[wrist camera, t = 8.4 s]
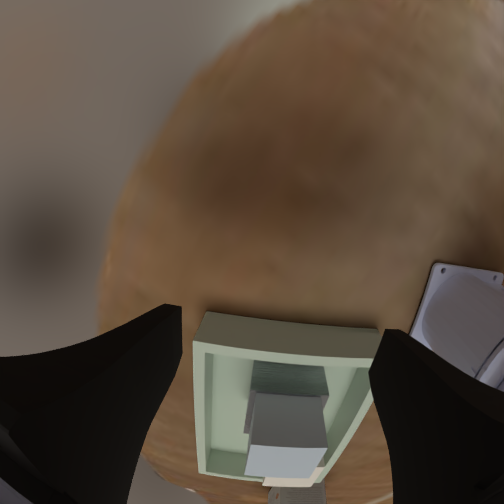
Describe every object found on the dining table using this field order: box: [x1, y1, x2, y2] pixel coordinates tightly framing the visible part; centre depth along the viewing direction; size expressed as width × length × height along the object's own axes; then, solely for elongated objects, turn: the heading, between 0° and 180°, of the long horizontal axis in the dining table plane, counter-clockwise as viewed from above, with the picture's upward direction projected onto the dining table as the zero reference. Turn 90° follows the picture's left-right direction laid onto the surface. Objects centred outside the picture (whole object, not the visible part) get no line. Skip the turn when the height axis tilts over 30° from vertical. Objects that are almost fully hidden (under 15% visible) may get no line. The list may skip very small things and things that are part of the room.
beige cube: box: [262, 455, 325, 487], centre depth 22 cm, size 5×5×5 cm
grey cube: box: [244, 393, 328, 478], centre depth 16 cm, size 4×4×4 cm
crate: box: [193, 311, 382, 483], centre depth 22 cm, size 14×20×4 cm
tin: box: [243, 360, 329, 434], centre depth 20 cm, size 6×6×4 cm
